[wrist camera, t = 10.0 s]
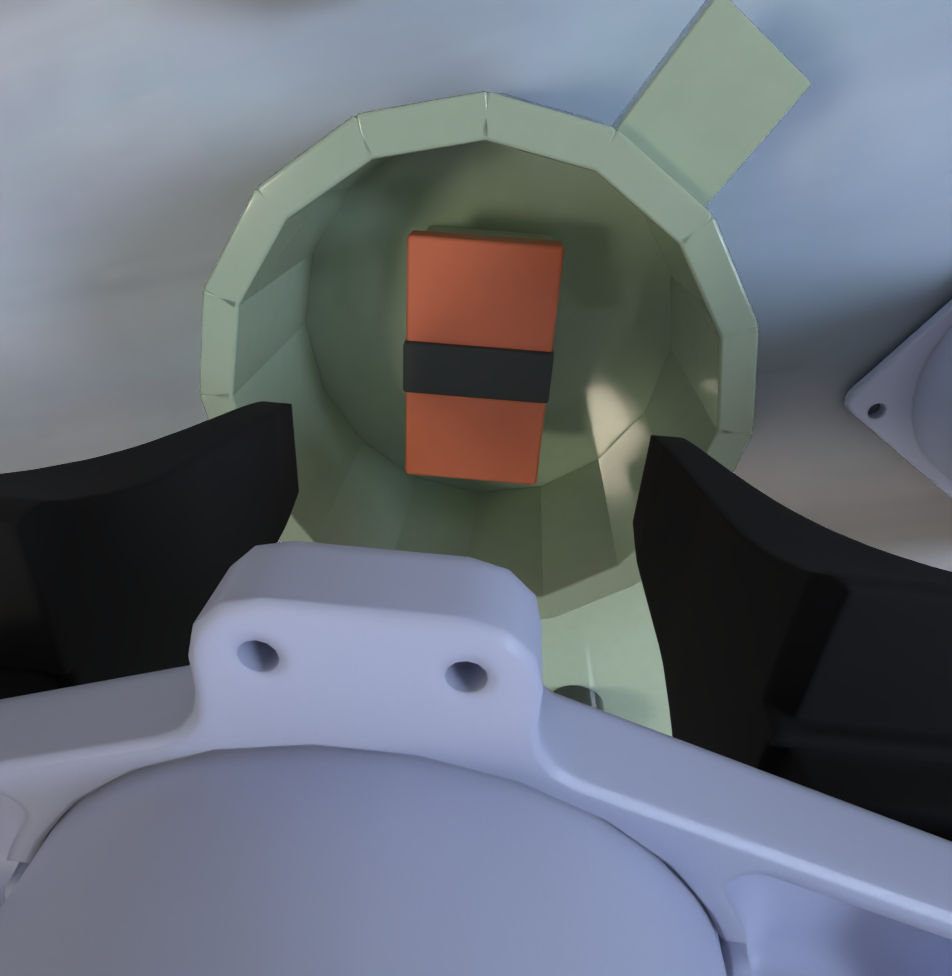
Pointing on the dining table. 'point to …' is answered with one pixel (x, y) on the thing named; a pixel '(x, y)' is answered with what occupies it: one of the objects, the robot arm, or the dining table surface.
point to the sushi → (478, 351)
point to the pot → (579, 321)
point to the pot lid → (609, 659)
